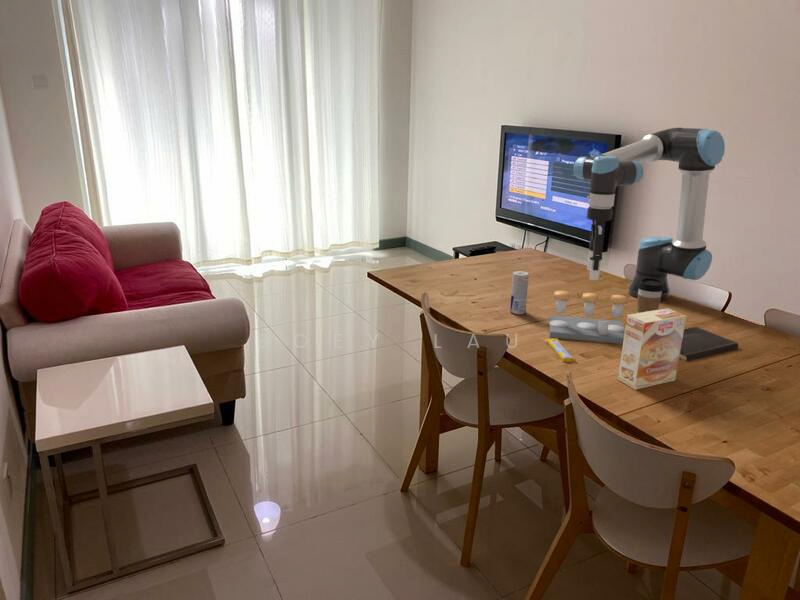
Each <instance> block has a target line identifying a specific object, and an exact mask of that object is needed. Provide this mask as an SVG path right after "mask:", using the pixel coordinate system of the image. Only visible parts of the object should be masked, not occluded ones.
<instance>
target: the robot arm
mask: <svg viewBox="0 0 800 600" xmlns="http://www.w3.org/2000/svg"><path fill="white" fill-rule="evenodd" d="M725 146H726V144H725V139H724V137H723V135H722V134H721V132H719V131H717V130H715V129H710V128H709V129H708V128H695V127H694V128H692V127H689V128H688V127H671V128H667V129H663V130H660V131H656V132H653V133H650V134H648V135H645V136H644V137H643V138H642V139H641V140H639V141H636V142H633V143H630V144H628V145H624V146H622V147H619V148H615V149H613V150H610V151H607V152H604V153H601V154H598V155H595V156H591V157H590V156H580V157H579V158H577V159H576V160H575V161H574V164H573V174H574V177H576V178H577V179H579V180H583V181H589V182H590V188H589V195H587V197H586V198H587V200H588V207H587V212H586V218H587V219H588V220H590V221H591V222H592V223H591V226H590V237H589V238H590V239H589V244H588V247H589V249H588V259H587V266H586V270H587V271H589V280H591V281H593V280H594V281H600V280H599V279H600V270H601V263H602V261H603V248H604V247H603V246H604V238H605V231H606V226H605V224H604V222H609V221H611V220H612V219H613V211H614V209H613V207H614V206H615V196H616V188H617V187H623V186H628V187H629V186H632V185H636V184H638V183H640V182H641V180H642V179H643V177H644V167H643V165H642V163H645V162H650V163H651V162H652V163H653V162H657V161H670V162H678V170H679V171H680V172H681V174H682V175H681V188H680V197H679V198H680V199H679V209H678V220H677V230H676V237H675V238H674V239H673V238H672V237H669V236H650V237H649V236H648V237H644V238H642V239H641V240H639V241H640V242H639V246H638V249H637V250H638V252H637V259H636V267H635V273H634V277H633V278H632V279H631V282H630V283H629V286H628V294H629V295H630V296H631V297H634V298H637V297H638V289H639V288H638V287H637V286H638V284H639V282H640V280H641V279H643V278H655V279H659V280H661V281H662V282H663V289H664V290H663V291H662V293H661V300H660V301H664V300H668V299H669V297H670V286H669V282H668V275H672V276H674V277H678V278H679V277H680V278H682V279H685V280H691V281H698V280H700V279H701V278H703V277H704V276H705V275H706V274H707V272H708V271H709V269H710V267H711V264H712V261H713V254H712V252H711V251H709V250H708V249H707V241H705V240H704V239H703V236H704V226H705V219H706V218H705V217H706V209H707V202H708V201H707V199H708V198H707V197H708V193H709V192H708V190H709V181H710V174H711V173H712V172H713V171H714V170H715V169H716V166H717V165H719V164H720V163H721V161H722V160H723V157H724V155H725V150H726V149H725V148H726V147H725Z"/></svg>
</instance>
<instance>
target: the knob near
mask: <svg viewBox="0 0 800 600" xmlns="http://www.w3.org/2000/svg"><path fill="white" fill-rule="evenodd" d="M610 302H611V303H612V310H611V317H612V318H617V319H621V318H622V317H623V312H624V311H623V310H624V305H626V304H627V303H628V297H627V296H625V295H622V294H612V295H611V296H610Z"/></svg>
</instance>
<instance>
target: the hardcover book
mask: <svg viewBox="0 0 800 600" xmlns="http://www.w3.org/2000/svg"><path fill="white" fill-rule="evenodd" d="M737 349H739V343H738V342H736V341H734V340H731V339H729V338H727V337H724V336H721V335H718V334H716V333H713V332H710V331H708V330H706V329H704V328H703V329H702V328H700V327H698V326H694V327H689V328H684V333H683V338H682V344H681V350H680V355H679V359H682V360H684V361H686V362H687V361H692V360H697V359H700V358H705V357H709V356H713V355H717V354H721V353H725V352H728V351H729V352H730V351H733V350H737Z"/></svg>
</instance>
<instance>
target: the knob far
mask: <svg viewBox="0 0 800 600" xmlns="http://www.w3.org/2000/svg"><path fill="white" fill-rule="evenodd" d="M570 297H571V293H570V292H569V291H566V290H555V291H554V295H553V298H554V299H556V302H555V311H554V312H555V313H557V314H566V308H567V300H570Z"/></svg>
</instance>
